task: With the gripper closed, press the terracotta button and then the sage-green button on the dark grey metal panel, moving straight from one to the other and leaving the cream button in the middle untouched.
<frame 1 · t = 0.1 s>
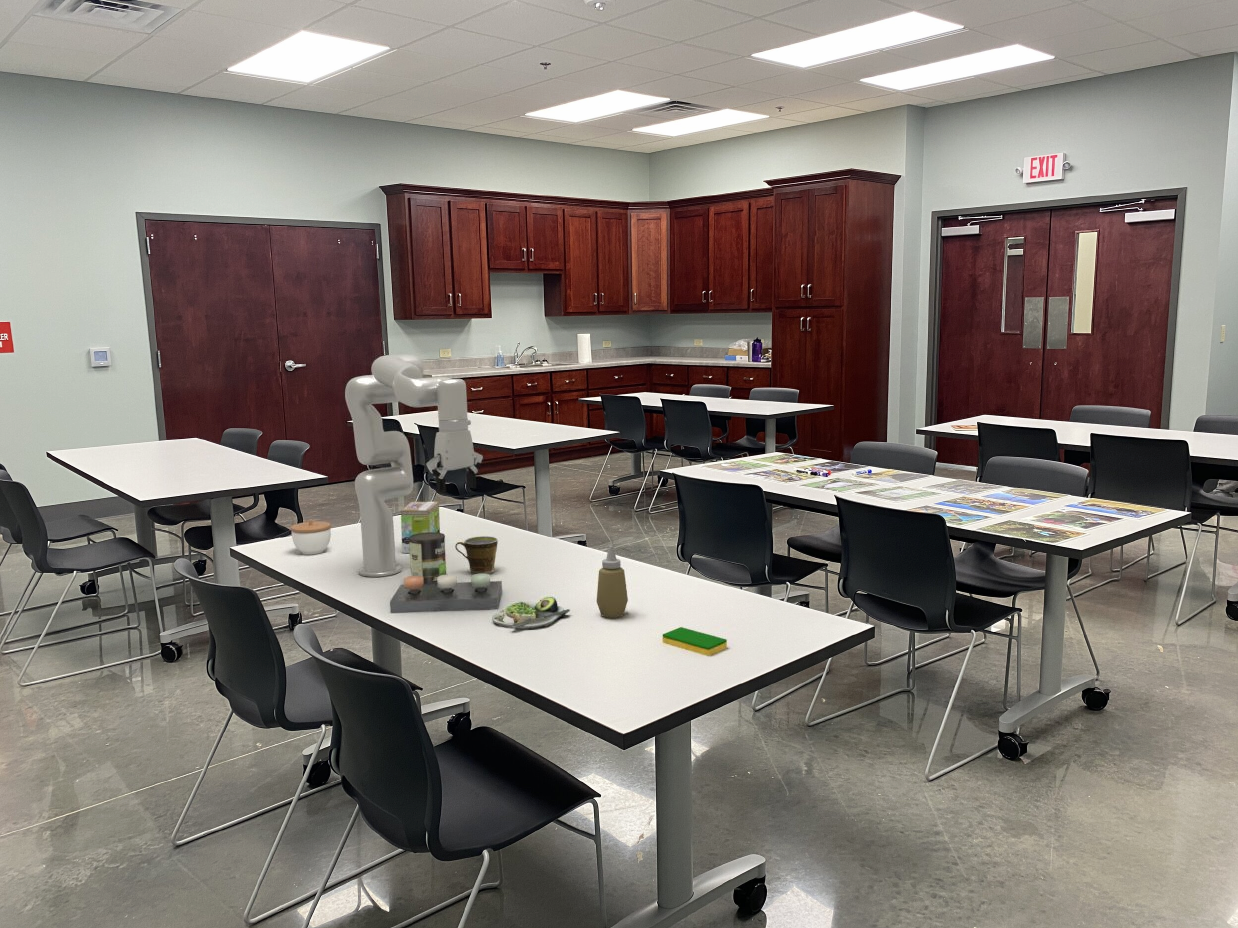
hand: (456, 490, 246), 31 cm above the table, tool pointing down, fingers open, 9 cm apart
panel: (448, 601, 252), on the table
avocado toast plate: (530, 619, 237), on the table
tea box: (421, 548, 312), on the table
squeeze bottle: (612, 615, 238), on the table
coffee can: (429, 583, 270), on the table
button terracotta: (414, 587, 251), point 4 cm above the table, slide at 0.0 cm
button cream: (447, 586, 251), point 4 cm above the table, slide at 0.0 cm
dish sponge: (694, 647, 215), on the table
button sage: (480, 585, 252), point 4 cm above the table, slide at 0.0 cm
lidded bowl: (312, 552, 310), on the table
ceramic cup: (477, 572, 281), on the table
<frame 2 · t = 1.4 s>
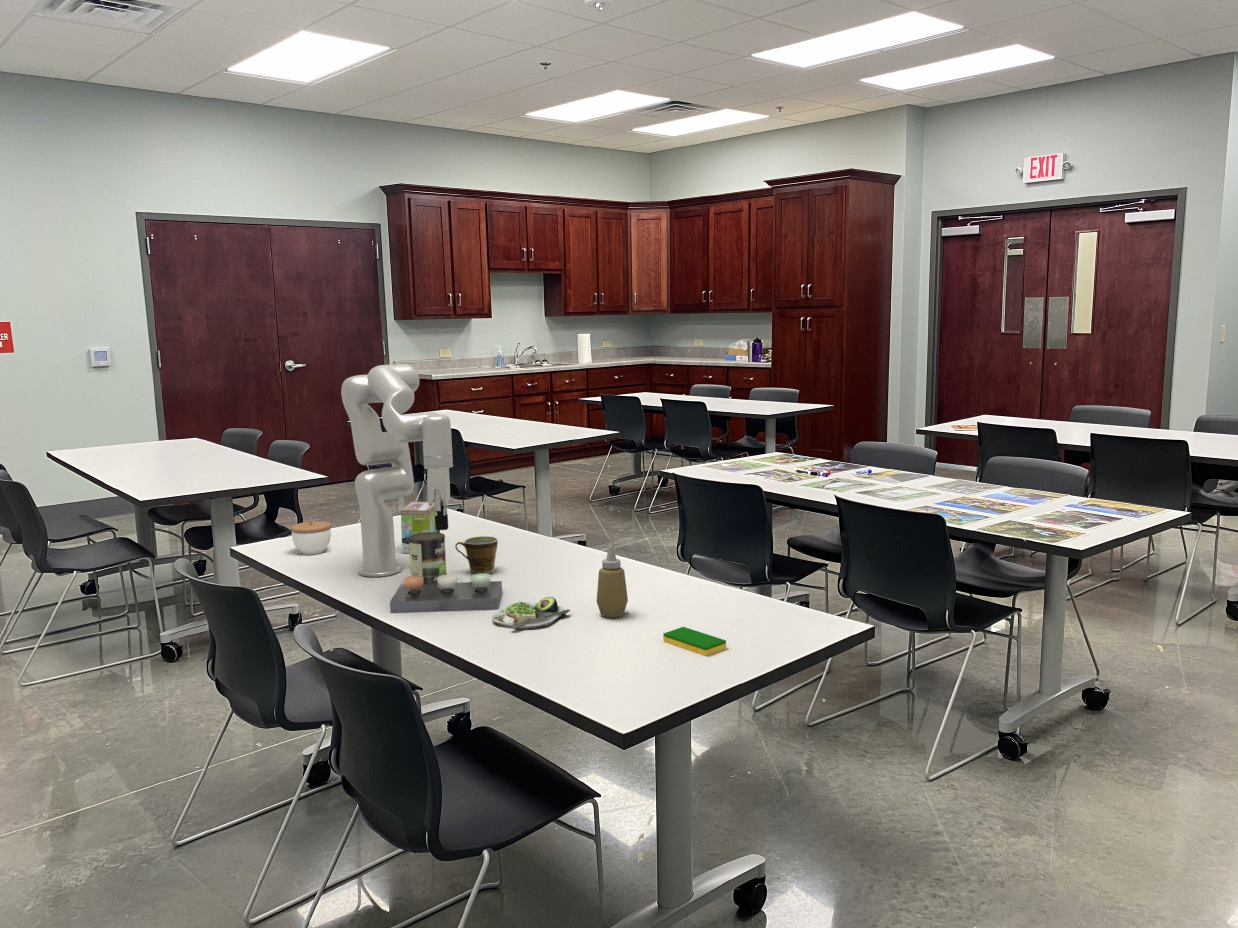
hand: (442, 529, 248), 20 cm above the table, tool pointing down, fingers closed
nothing on the table moved.
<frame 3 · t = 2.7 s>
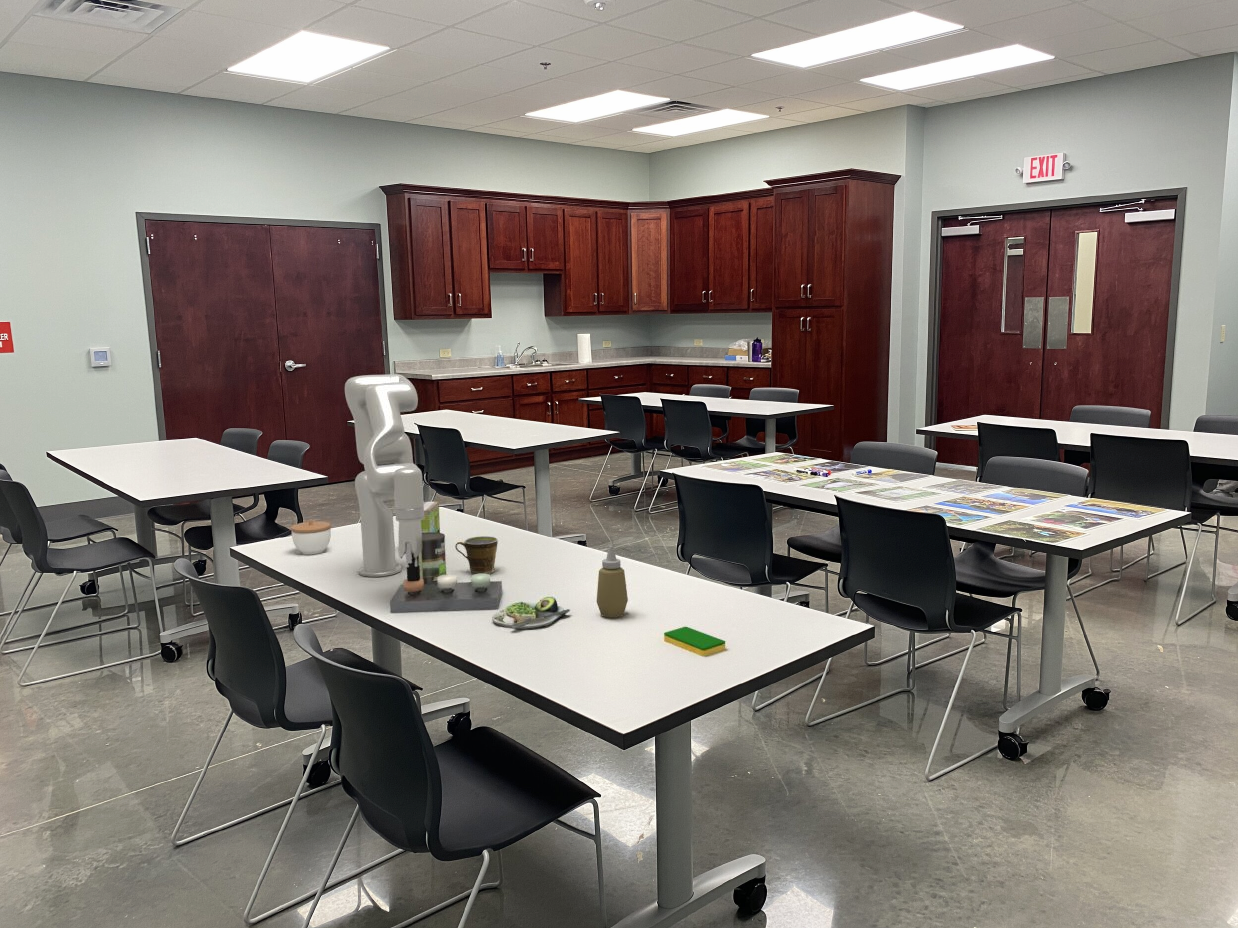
hand: (413, 580, 250), 6 cm above the table, tool pointing down, fingers closed
button terracotta: (414, 589, 251), point 4 cm above the table, slide at 0.6 cm, touching gripper
everything else where it was.
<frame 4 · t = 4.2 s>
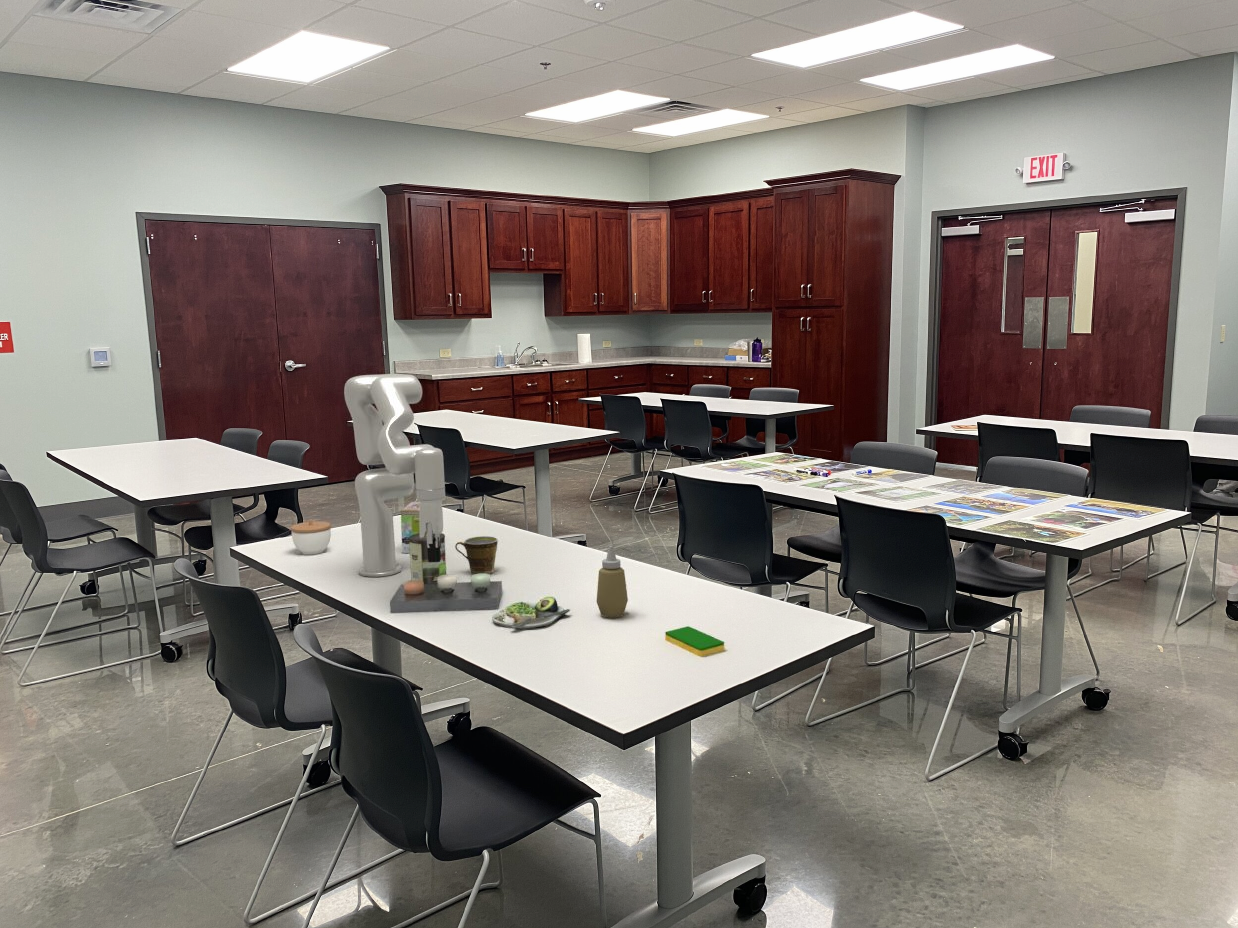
hand: (434, 561, 250), 11 cm above the table, tool pointing down, fingers closed
button terracotta: (414, 592, 251), point 3 cm above the table, slide at 1.3 cm
everything else where it was.
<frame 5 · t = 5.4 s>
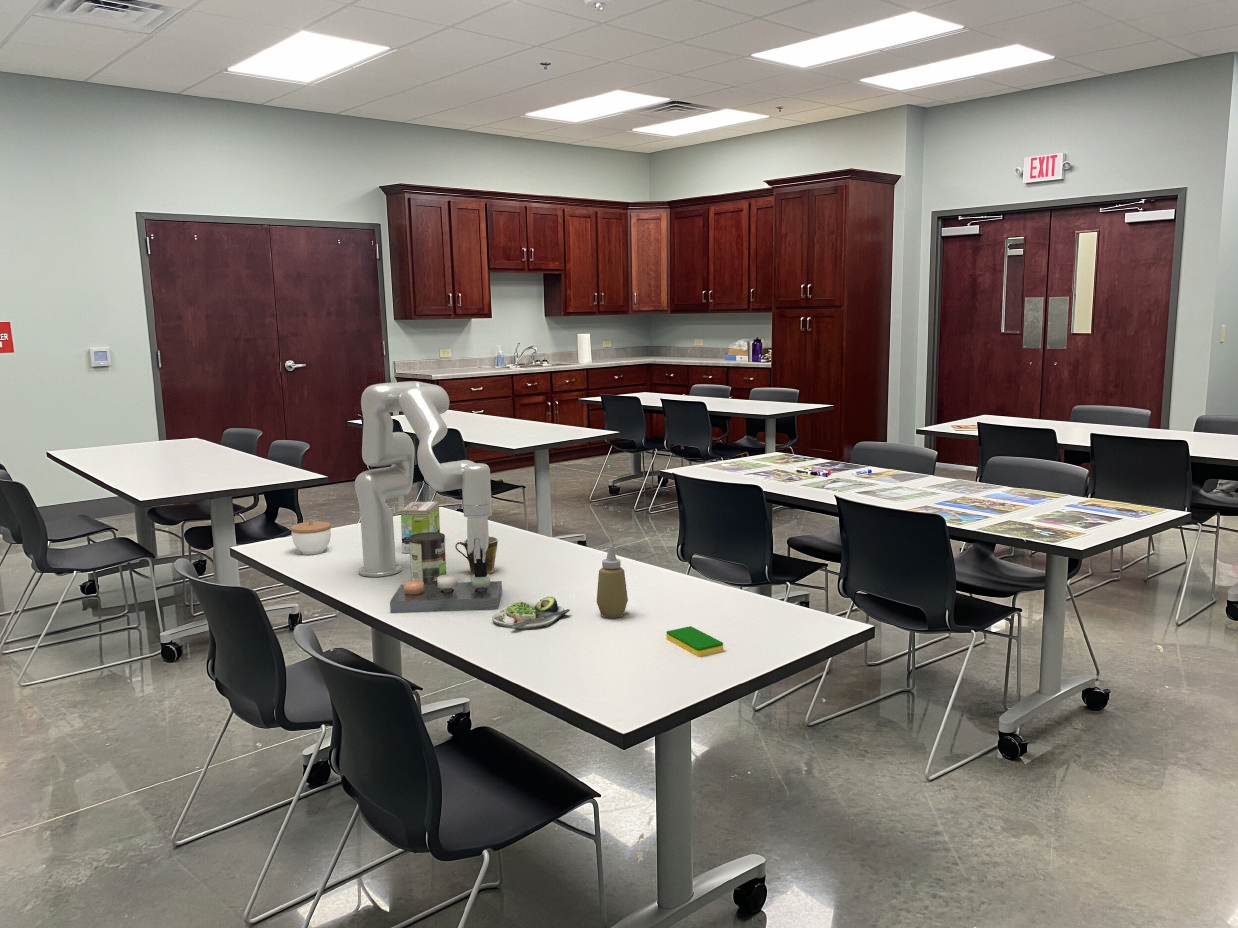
hand: (480, 576, 251), 7 cm above the table, tool pointing down, fingers closed
button sage: (480, 585, 252), point 4 cm above the table, slide at 0.0 cm, touching gripper
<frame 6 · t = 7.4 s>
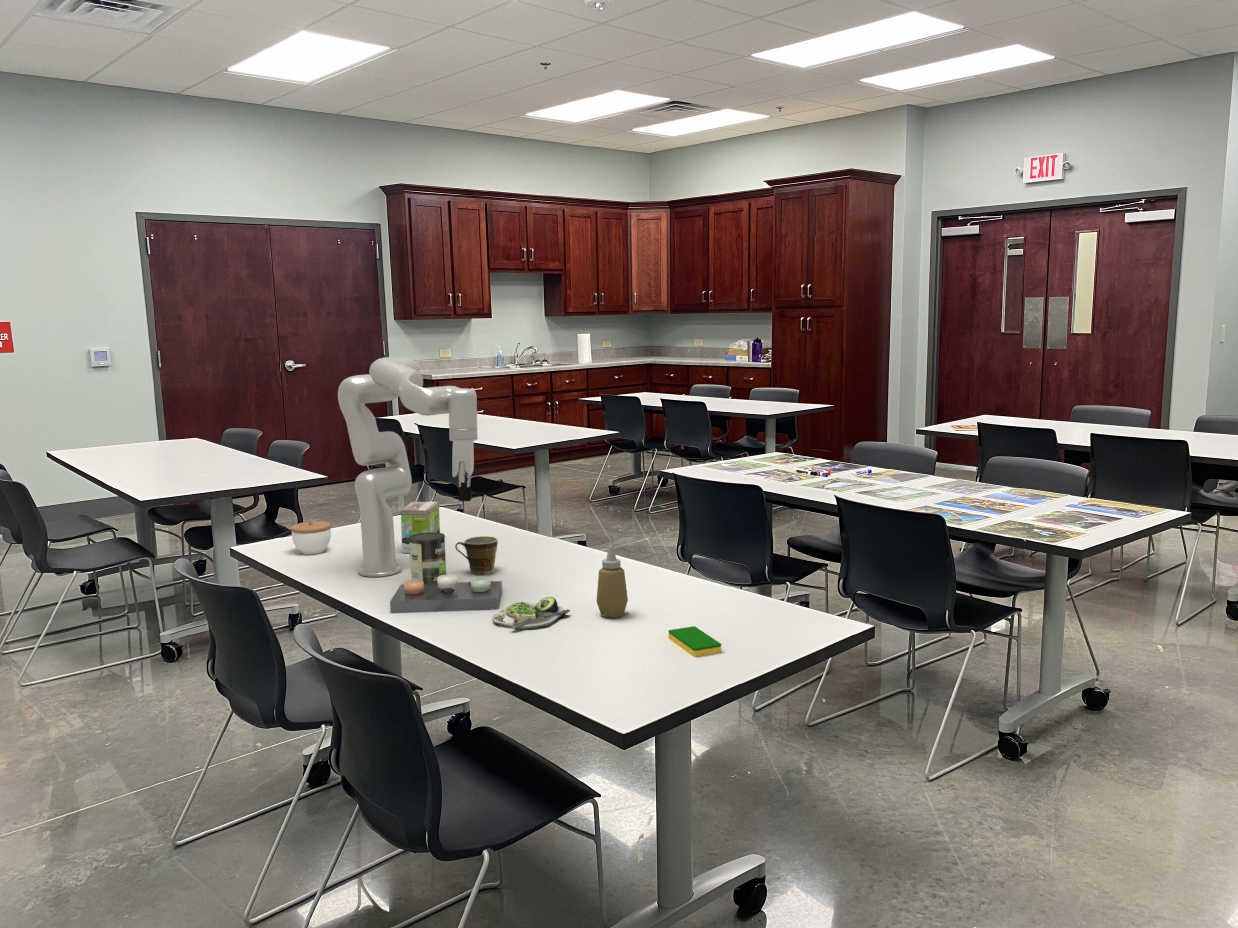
hand: (465, 500, 254), 27 cm above the table, tool pointing down, fingers closed
button sage: (481, 590, 252), point 3 cm above the table, slide at 1.3 cm
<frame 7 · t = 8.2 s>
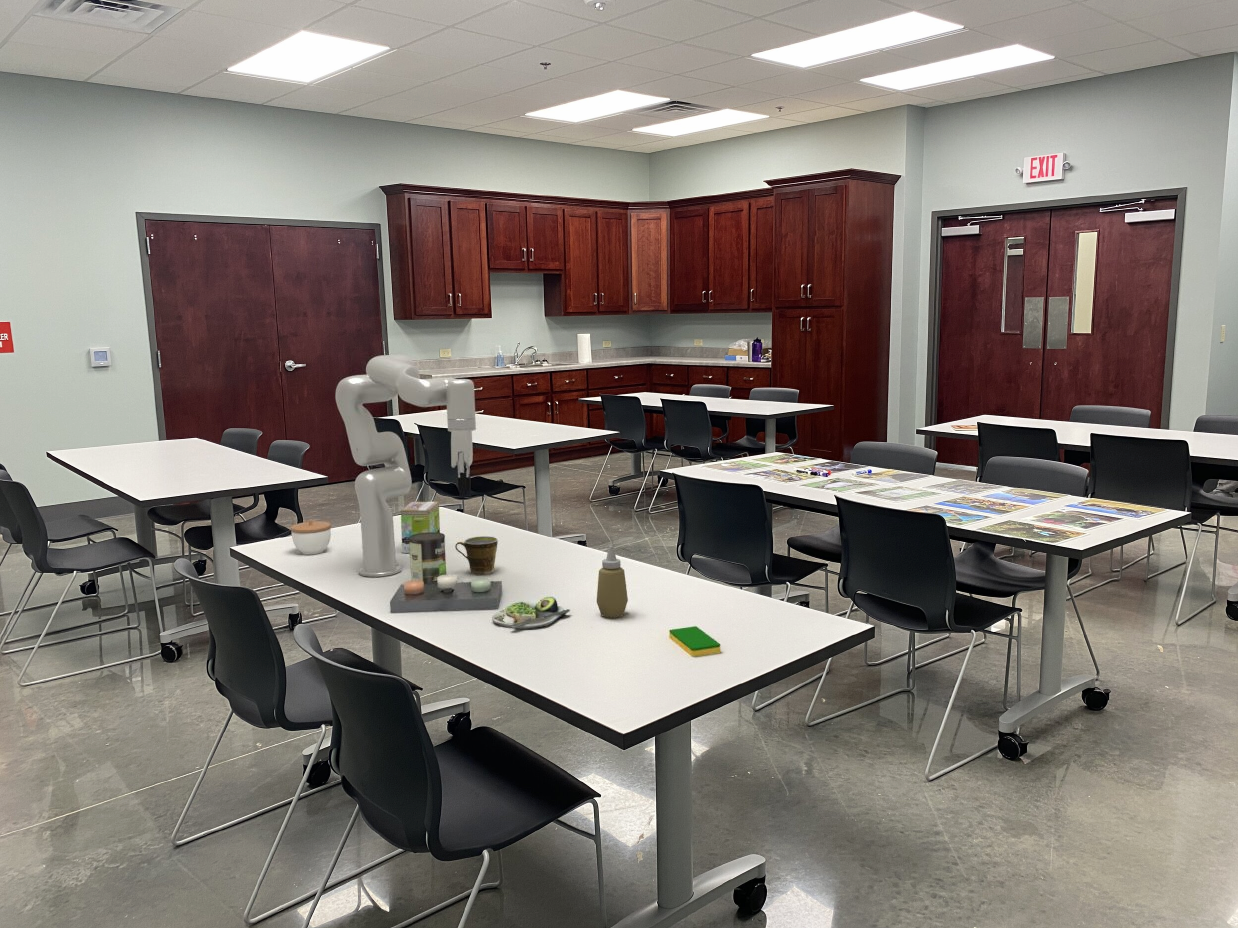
hand: (464, 491, 254), 29 cm above the table, tool pointing down, fingers closed
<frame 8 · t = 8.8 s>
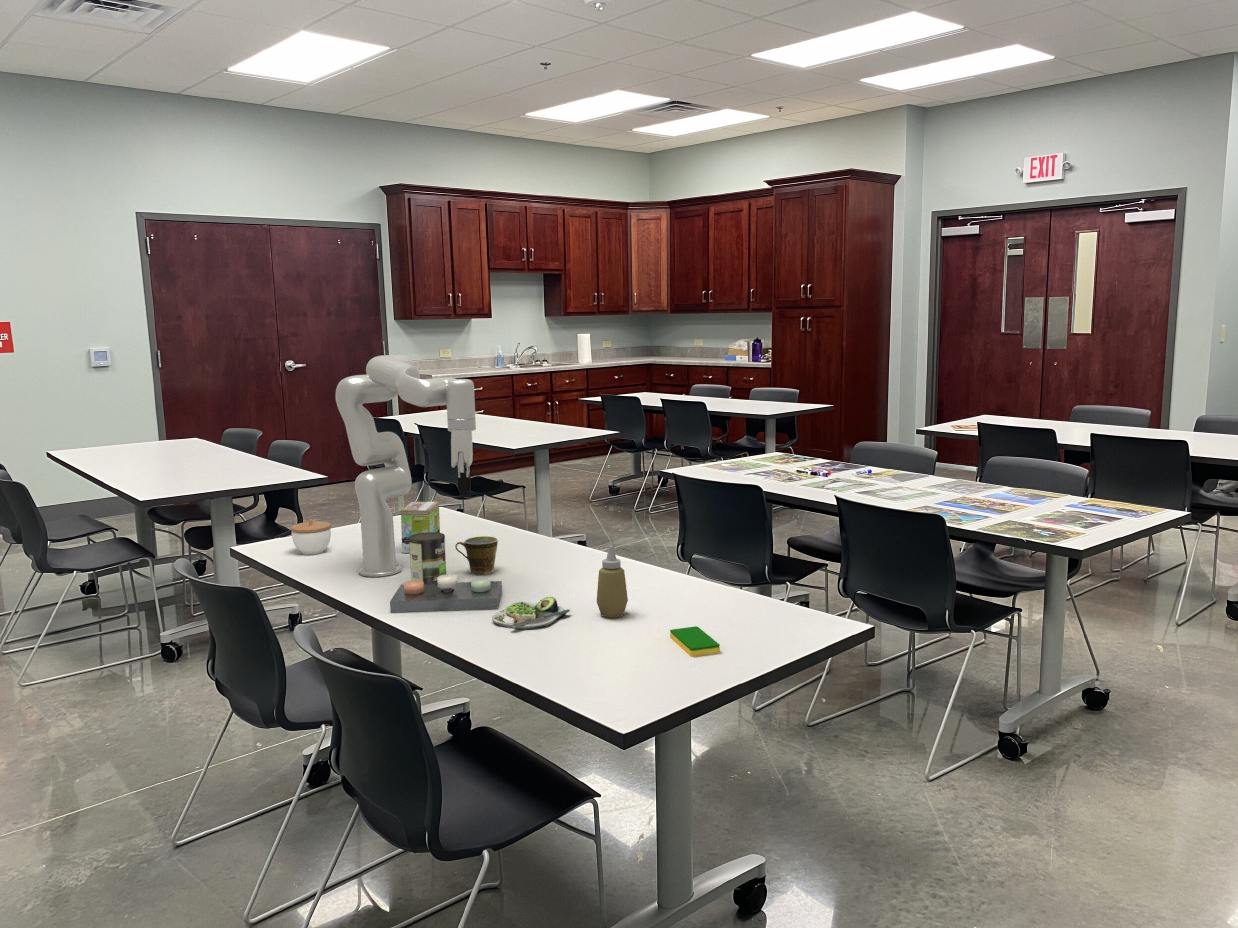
hand: (464, 491, 254), 29 cm above the table, tool pointing down, fingers closed
at the end: button terracotta slide at 1.3 cm; button sage slide at 1.3 cm; button cream slide at 0.0 cm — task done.
